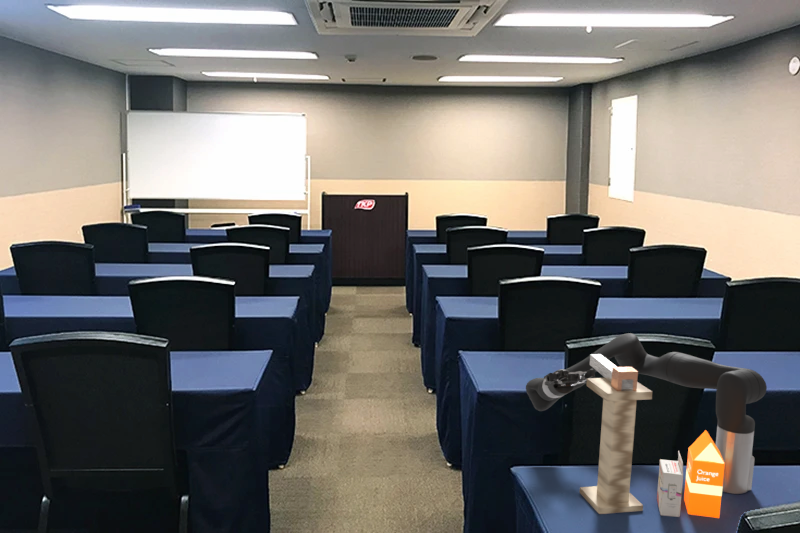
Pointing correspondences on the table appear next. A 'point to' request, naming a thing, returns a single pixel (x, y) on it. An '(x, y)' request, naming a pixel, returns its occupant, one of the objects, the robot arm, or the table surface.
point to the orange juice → (704, 478)
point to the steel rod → (615, 373)
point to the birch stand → (615, 449)
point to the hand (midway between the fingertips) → (578, 372)
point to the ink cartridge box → (670, 487)
